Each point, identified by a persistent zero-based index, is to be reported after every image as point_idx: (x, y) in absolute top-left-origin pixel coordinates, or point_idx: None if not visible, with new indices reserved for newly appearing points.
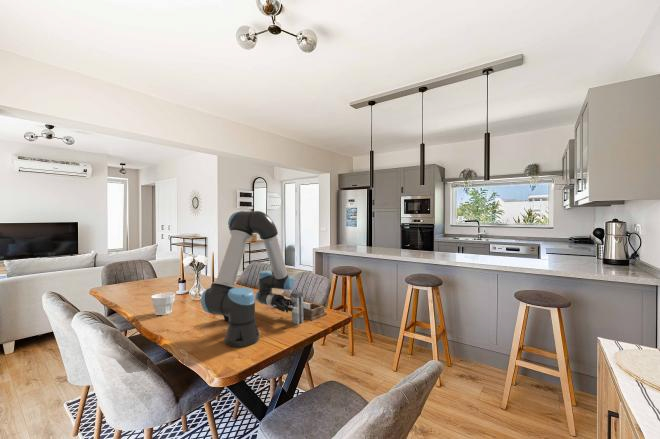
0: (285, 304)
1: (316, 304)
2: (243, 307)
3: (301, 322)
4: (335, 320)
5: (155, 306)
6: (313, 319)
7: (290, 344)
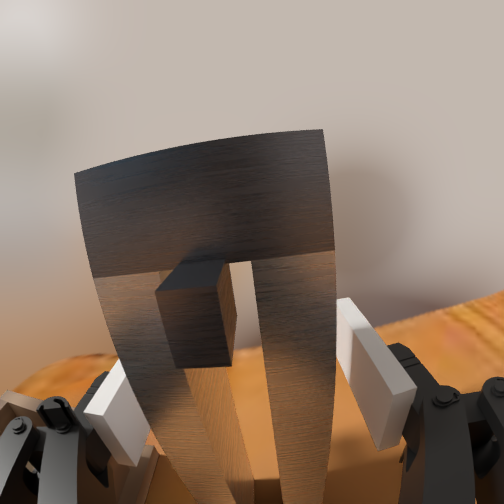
0: (443, 499)
1: None
2: None
3: (253, 477)
4: None
5: None
6: (145, 449)
7: (439, 315)
